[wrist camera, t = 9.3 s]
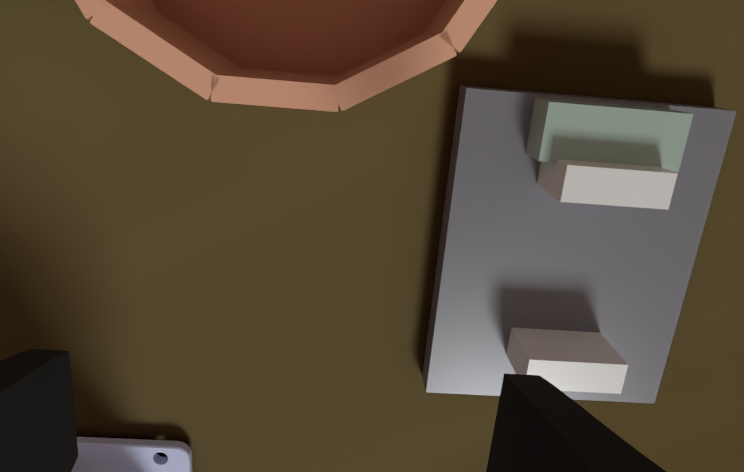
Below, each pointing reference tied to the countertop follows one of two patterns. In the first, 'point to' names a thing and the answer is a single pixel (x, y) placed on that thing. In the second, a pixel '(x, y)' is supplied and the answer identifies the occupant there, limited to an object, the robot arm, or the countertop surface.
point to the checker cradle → (568, 240)
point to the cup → (290, 44)
